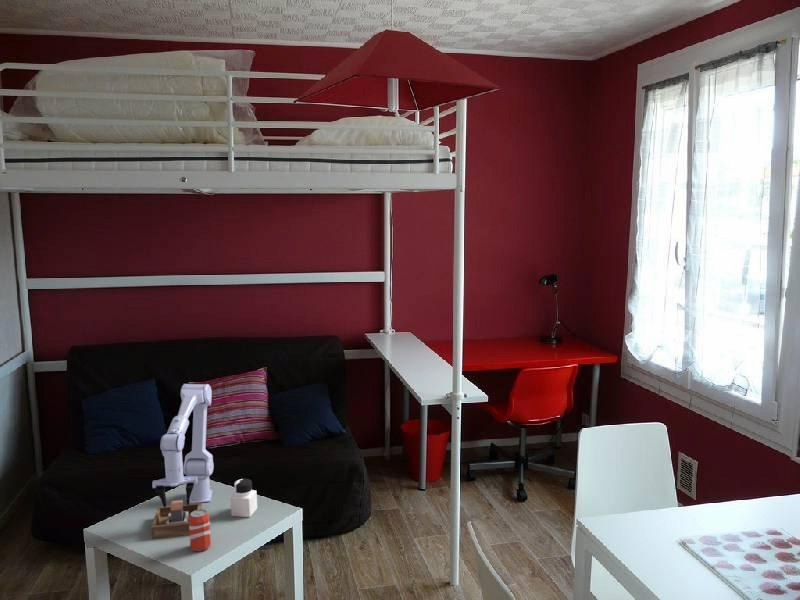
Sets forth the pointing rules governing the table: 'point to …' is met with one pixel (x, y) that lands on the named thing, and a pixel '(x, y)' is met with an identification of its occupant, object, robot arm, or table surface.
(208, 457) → the robot arm
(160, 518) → the walled box
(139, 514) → the table surface
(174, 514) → the rectangular block
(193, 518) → the beverage can
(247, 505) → the medicine bottle
